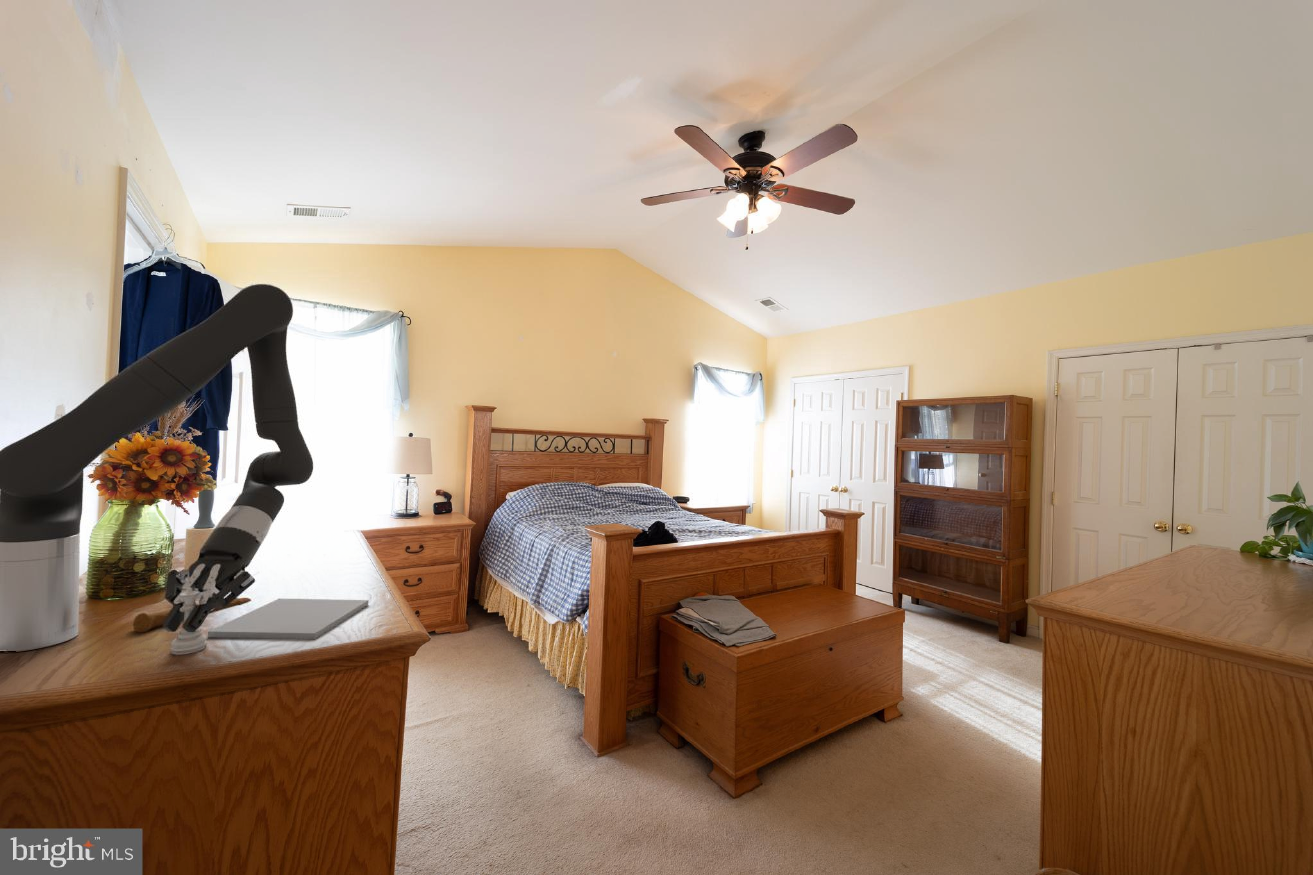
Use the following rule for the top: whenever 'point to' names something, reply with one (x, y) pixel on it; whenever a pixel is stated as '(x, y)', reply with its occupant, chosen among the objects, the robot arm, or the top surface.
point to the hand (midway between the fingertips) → (178, 629)
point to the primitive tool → (149, 621)
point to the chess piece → (186, 640)
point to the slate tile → (290, 619)
